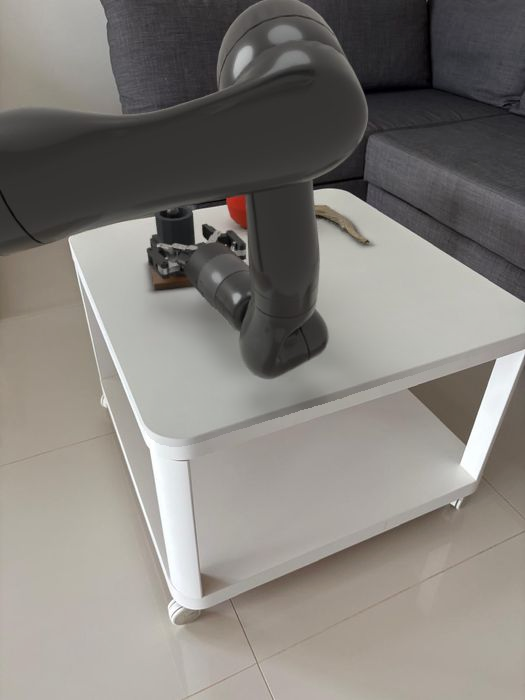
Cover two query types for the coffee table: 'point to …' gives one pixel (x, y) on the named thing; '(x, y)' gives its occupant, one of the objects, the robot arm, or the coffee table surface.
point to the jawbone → (338, 220)
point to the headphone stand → (172, 281)
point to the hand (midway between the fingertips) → (179, 234)
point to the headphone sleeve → (176, 230)
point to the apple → (237, 210)
